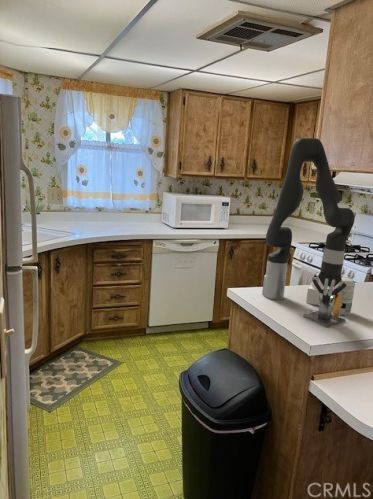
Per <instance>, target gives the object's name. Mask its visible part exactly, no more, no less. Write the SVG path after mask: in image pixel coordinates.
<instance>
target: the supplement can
mask: <svg viewBox="0 0 373 499" xmlns="http://www.w3.org/2000/svg"><path fill="white" fill-rule="evenodd" d="M341 278H342V281H343V282H345V283H346V287H345V288H344V289H342V290H341V291H340V292H339V293H340V294H342V302H343V305H342V307H341V308H340V313H339V316H340V315H341V316H348V315H350V314H351V312H352V308H353V307H352V306H353V299H354V293H355V287H356V283H355V279H353V278H351V277H346V276H341ZM339 283H340V282H339ZM339 283H338V284H337V285H336V286H335V287H334V288H333V290H335V289H336V288H337V287H338V286H339ZM332 311H333V308H332Z"/></svg>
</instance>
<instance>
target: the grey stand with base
mask: <svg viewBox="0 0 373 499" xmlns="http://www.w3.org/2000/svg"><path fill="white" fill-rule="evenodd" d="M302 318H304V319H307V320H309V321H311V322H314V323H316V324H318V325H321V326H324V327H325V328H330V327H333V326H337V325H339V324H344V323H346V321H347V319H346V318H343V317H340V316H339V318H338V319H335V318H332V307H331V306H330V305H329V304H328V305H325V304H323V303H322V302H321V301H320V306H318V310H316V311H313V312H312V311H311V312H309V313H305V314H304V313H303V314H302Z"/></svg>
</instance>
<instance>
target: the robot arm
mask: <svg viewBox="0 0 373 499" xmlns="http://www.w3.org/2000/svg"><path fill="white" fill-rule="evenodd" d="M288 159H289V160H288V164H287V170H286V172H285V173H286V174H285V178H284V181H283V184H282V186H281V190H280V193H279V196H278V199H277V200H278V201H277V203H276V206H275V211H274V212H273V216H272V219H271V221H270V223H269V226H268V228H267V230H266V234H265V243H266V245H267V246H268V247H271V248H277V249H276V250H275V251H273V252H270V253H269V254H268V255H267V261H266V267H265V268H266V270H265V275H264V276H263V283H262V291H261V292H262V293H261V295H263V296H264V297H265V298H267V299H271V300H282V299H284V295H285V288H286V287H285V286H286V280H287V270H288V261H289V259H290V253H291V247H292V240H293V232H292V231H293V230H292V229H291V228H290V227H289V226H282V225H284V224H283V223H284V222H285V221H286V220H287V219H288V218H289V217H290V216H292V214H294V212H296V211H297V209H298V208H299V207H300V205H301V201H302V198H303V196H304V186H303V182H302V178H301V171H302V167H303V164H304V163H309V162H310V163H311V162H312V164H313V165H314V167H315V169H316V179H315V190H316V193H317V195H318V197H319V199H320V201H321V202H322V203H321V204H322V208H323V216H324V220H325V222H326V223H327V225H329V226H330V227H332V228H334V229H333V231H332V232H329V233H328V234H327V236H326V239H325V245H324V250H323V253H322V258H321V259H322V260H321V266H320V271H319V273H318V275H317V276H315V277H316V278H313V277H312V278H311V282H312V281H313V283H314V285H315V286H316V288H317V290H318V291H319V293H322V294H323V296H322V303H323V304H325V305H328V304H329V303H330V298H331V296H332V295H336V294H338V293H339V292H340V291H341V290H342V289H344V288H345V287H346V283H345V282H343V281H342V278H341V277H342V273H343V272H342V271H343V267H344V261H345V252H346V244H347V239H348V237H349V236H350V233H351V231H352V229H353V227H354V223H355V213H354V211H353V210H352V209H351V208H349V207H339V205H338V204H339V203H340V202H341V201H342V195H341V193H340V191H339V189H338V186H337V185H336V182H335V180H334V178H333V174H332V172H331V169H330V165H329V162H328V157H327V154H326V150H325V148H324V144H323V143H322V141H321V140H320V139H319V138H316V137H299V138H297V139H296V140H295V141H294V142H293V143H292V146H291V150H290V155H289V158H288ZM319 279H320V281H321V283H322V285H323V289H321V287H320V286H319V284H318V283H319ZM339 282H340V283H339ZM338 283H339V286H338V287H337V288H336V289H335V290H333V289H334V287H335V286H336V285H337V284H338ZM327 289H328V293H327Z"/></svg>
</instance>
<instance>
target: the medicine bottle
mask: <svg viewBox="0 0 373 499" xmlns="http://www.w3.org/2000/svg"><path fill="white" fill-rule="evenodd" d="M316 277H317V276H313V277H312V278H316ZM310 283H311V284H310V286H309V287H308V288H307V294H306V304H310V305H314V306H318V307H319V306H320V301H319V291H318V290H317V288H316V286H315V285H314V283H313V281H312V280H311V282H310ZM318 284H319V286H320V287H321V289H323V285H322V283H321V281H320V279H319V283H318Z"/></svg>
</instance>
